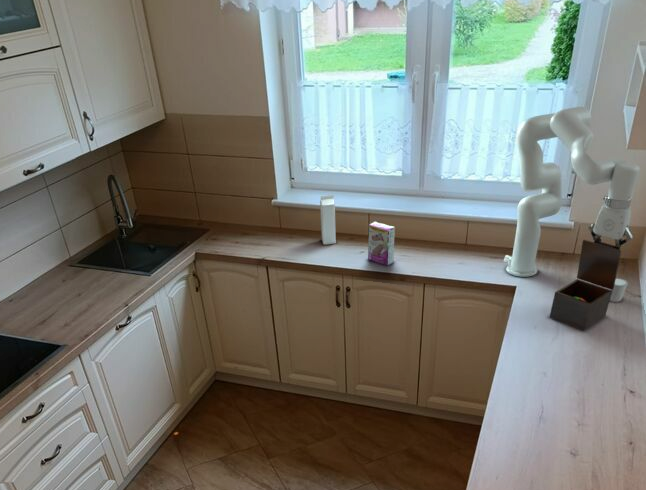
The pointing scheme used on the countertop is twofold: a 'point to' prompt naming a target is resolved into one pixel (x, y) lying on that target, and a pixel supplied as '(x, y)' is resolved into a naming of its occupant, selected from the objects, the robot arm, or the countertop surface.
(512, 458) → the countertop surface
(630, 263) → the countertop surface
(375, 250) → the candy bar box
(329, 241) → the milk
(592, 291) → the chest
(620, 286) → the shot glass
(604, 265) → the lid
